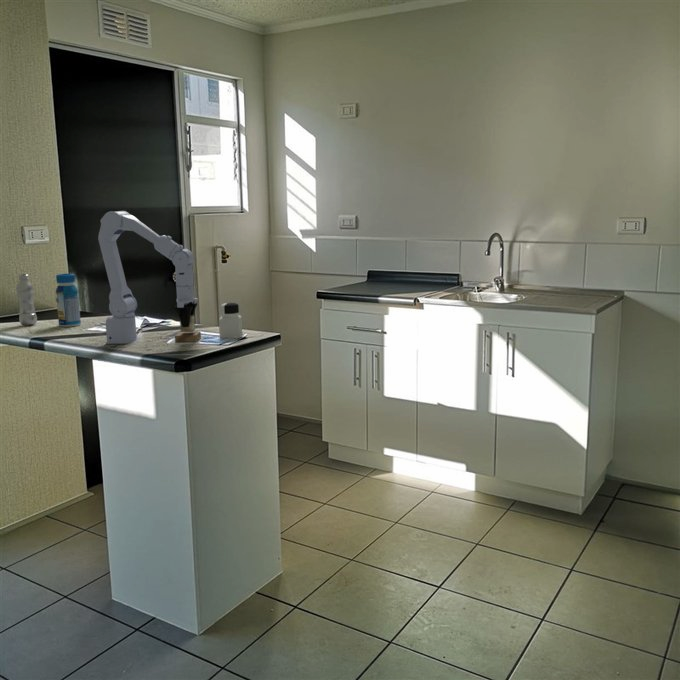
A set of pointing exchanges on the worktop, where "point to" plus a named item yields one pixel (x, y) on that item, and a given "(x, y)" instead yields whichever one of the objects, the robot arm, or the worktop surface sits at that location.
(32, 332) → the worktop surface
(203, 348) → the worktop surface
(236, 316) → the medicine bottle
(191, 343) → the mat
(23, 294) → the plastic bottle
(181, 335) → the walnut slab
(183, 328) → the maple block
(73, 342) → the worktop surface
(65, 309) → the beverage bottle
